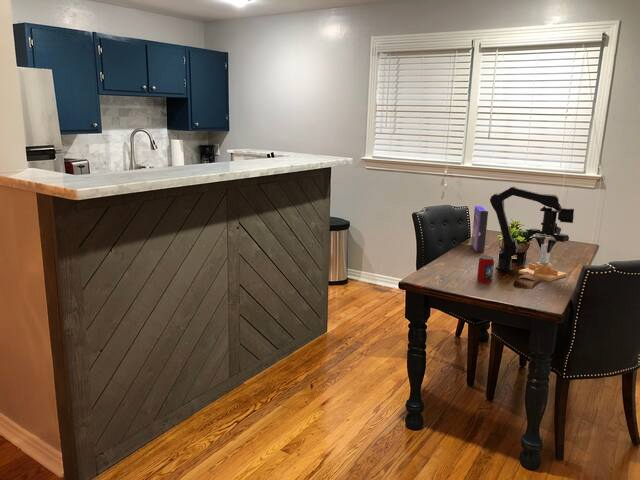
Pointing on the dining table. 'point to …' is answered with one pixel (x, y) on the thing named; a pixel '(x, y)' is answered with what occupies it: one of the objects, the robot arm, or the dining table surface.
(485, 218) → the cereal box
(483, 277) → the beverage can
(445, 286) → the dining table surface
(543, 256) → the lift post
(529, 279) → the sunglasses case
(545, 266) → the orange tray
